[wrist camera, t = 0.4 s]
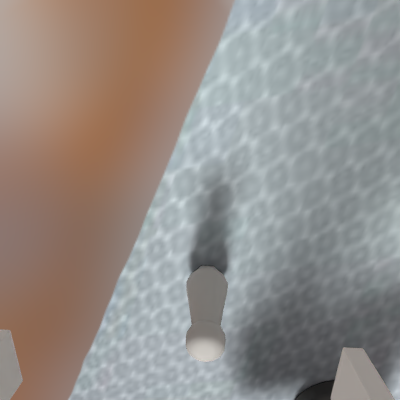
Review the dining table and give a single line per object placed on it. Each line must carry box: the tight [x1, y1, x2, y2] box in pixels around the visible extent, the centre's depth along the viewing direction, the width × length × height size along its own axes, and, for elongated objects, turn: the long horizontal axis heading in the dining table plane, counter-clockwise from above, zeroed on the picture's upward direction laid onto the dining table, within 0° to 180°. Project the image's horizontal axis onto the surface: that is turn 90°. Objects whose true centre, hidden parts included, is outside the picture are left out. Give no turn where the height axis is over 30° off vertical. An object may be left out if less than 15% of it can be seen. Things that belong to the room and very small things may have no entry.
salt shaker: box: [186, 266, 228, 362], centre depth 35 cm, size 6×6×13 cm
